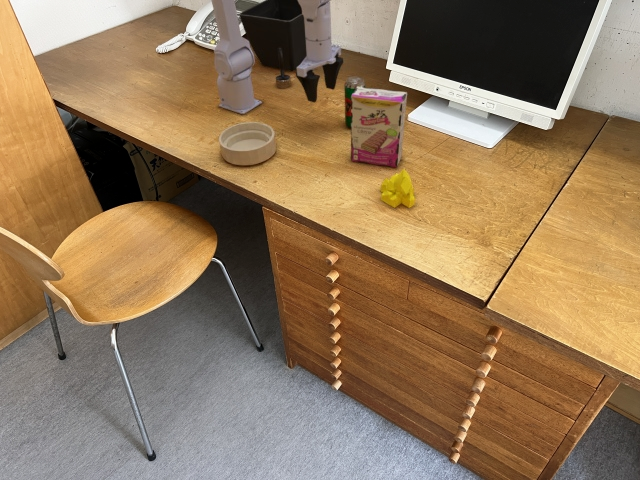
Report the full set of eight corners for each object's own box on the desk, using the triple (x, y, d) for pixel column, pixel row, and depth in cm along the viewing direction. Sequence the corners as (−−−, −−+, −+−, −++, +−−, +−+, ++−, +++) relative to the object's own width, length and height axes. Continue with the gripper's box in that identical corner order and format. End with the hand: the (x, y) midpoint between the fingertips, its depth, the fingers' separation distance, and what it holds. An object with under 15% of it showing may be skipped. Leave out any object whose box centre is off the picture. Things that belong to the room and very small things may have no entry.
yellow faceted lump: (392, 183, 103) (394, 153, 98) (421, 200, 99) (424, 168, 93) (373, 195, 101) (374, 164, 95) (402, 212, 96) (404, 181, 91)
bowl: (211, 157, 115) (207, 140, 112) (247, 132, 123) (244, 117, 119) (251, 173, 109) (248, 156, 106) (287, 147, 116) (285, 130, 113)
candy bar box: (350, 162, 110) (349, 95, 99) (356, 150, 114) (356, 85, 102) (397, 169, 107) (402, 101, 96) (402, 157, 111) (407, 90, 99)
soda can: (363, 130, 120) (363, 85, 112) (343, 129, 121) (342, 84, 113) (366, 120, 124) (366, 76, 116) (346, 119, 125) (346, 75, 117)
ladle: (273, 86, 142) (268, 48, 134) (282, 81, 144) (278, 43, 137) (284, 89, 140) (280, 51, 132) (294, 84, 142) (290, 46, 135)
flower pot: (246, 68, 153) (237, 12, 141) (279, 47, 164) (274, -6, 153) (294, 78, 145) (289, 21, 134) (326, 56, 156) (324, 1, 145)
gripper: (313, 51, 99) (317, 111, 108) (351, 29, 107) (351, 86, 116) (287, 45, 102) (292, 103, 111) (326, 24, 110) (328, 80, 120)
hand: (321, 94), depth 114 cm, fingers open, 7 cm apart
